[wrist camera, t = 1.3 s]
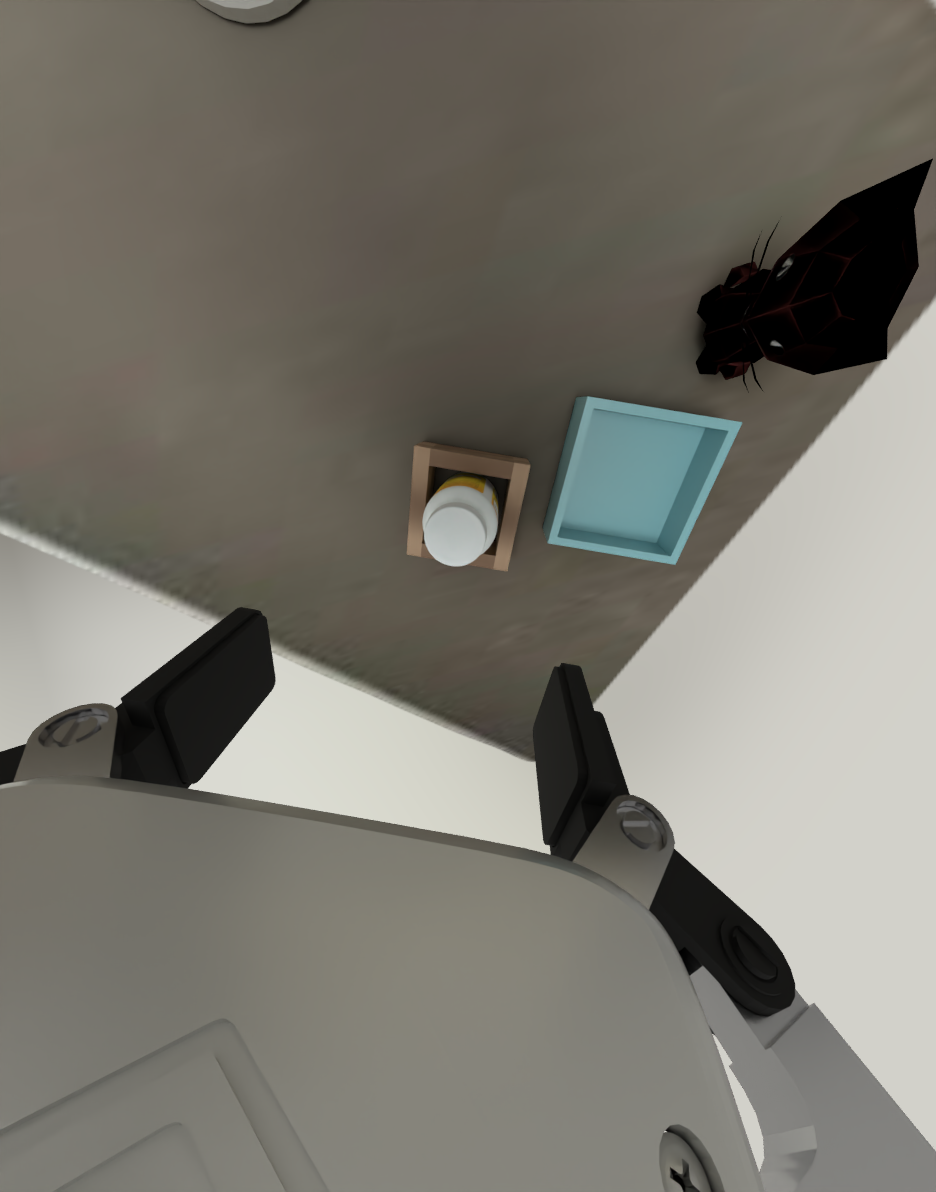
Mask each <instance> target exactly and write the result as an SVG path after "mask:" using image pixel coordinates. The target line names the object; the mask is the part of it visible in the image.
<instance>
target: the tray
mask: <svg viewBox="0 0 936 1192" xmlns="http://www.w3.org/2000/svg"><path fill="white" fill-rule="evenodd" d="M741 424H742V422H737V421H731V420H725V419H719V418H713V417H707V416H701V415H695V414H690V413H684V412H678V411H672V410H666V409H660V408H654V407H648V406H642V405H636V404H630V403H624V402H619V401H613V400H607V399H601V398H595V397H589V396H586V397H576V400H575V404H574V408H573V412H572V416H571V419H570V423H569V427H568V431H567V435H566V439H565V443H564V446H563V450H562V454H561V458H560V462H559V466H558V470H557V474H556V477H555V481H554V485H553V489H552V493H551V497H550V501H549V505H548V508H547V512H546V516H545V520H544V524H543V531H544V534H545V536H546V539H547V542H548V543H550V544H556V545H562V546H568V547H573V548H579V549H585V550H591V551H597V552H603V553H609V554H615V555H621V556H627V557H633V558H638V559H644V560H650V561H656V562H662V563H668V564H674V565H675V564H676V562H677V560H678V558H679V556H680V554H681V552H682V549H683V547H684V545H685V543H686V541H687V539H688V537H689V535H690V532H691V530H692V528H693V526H694V524H695V522H696V520H697V518H698V516H699V513H700V511H701V509H702V507H703V505H704V503H705V501H706V499H707V496H708V494H709V492H710V490H711V488H712V486H713V484H714V482H715V480H716V477H717V475H718V473H719V471H720V469H721V467H722V465H723V463H724V460H725V458H726V456H727V454H728V452H729V450H730V448H731V446H732V443H733V441H734V439H735V437H736V435H737V433H738V431H739V429H740V427H741Z"/></svg>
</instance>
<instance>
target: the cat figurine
mask: <svg viewBox="0 0 936 1192" xmlns="http://www.w3.org/2000/svg"><path fill="white" fill-rule="evenodd" d="M932 160H933V159H931V160H929V161H926V162H924V163H922V164H920V165H918V166H915V167H913V168H911V169H909V170H907V171H905V172H902V173H900V174H898V175H896V176H894V177H891V178H889V179H887V180H885V181H883V182H881V183H878V184H876V185H874V186H872V187H870V188H867V189H865V190H863V191H861V192H859V193H857V194H854V195H852V196H850V197H848V198H846V199H843V200H841V201H840V202H839V203H838V204H837V205H836V206H834V207H833V208H832V209H831V210H830V211H829V212H828V213H827V214H826V215H825V216H824V217H823V218H822V219H820V220H819V221H818V222H817V223H816V224H815V225H814V226H813V227H812V228H811V229H810V230H809V231H808V232H807V233H805V234H804V235H803V236H802V237H801V238H800V239H799V240H798V241H797V242H796V243H795V244H794V245H793V246H792V247H790V248H789V249H788V250H787V251H786V252H785V253H784V254H783V255H782V256H781V257H780V258H779V259H778V260H777V261H776V263H775V265H774V266H773V268H772V270H768V269H762V270H760V267H761V264H762V261H763V258H764V255H765V252H766V249H767V246H768V243H769V240H770V238H771V236H772V235H773V233H774V231H775V229H776V227H777V225H778V223H779V222H778V223H777V225H776V227H775V229H774V231H773V232H772V234H771V236H770V238H769V239H768V241H767V244H766V247H765V250H764V253H763V256H762V259H761V262H760V265H759V268H757V266H756V264H755V262H753V258H754V252H755V248H756V245H757V243H756V245H755V248H754V250H753V255H752V261H751V263H747V264H744V265H741V266H738V267H735V268H732V269H731V271H730V273H729V275H728V278H727V280H726V282H725V284H724V286H723V285H718V286H717V287H715V288H714V289H712V290H711V291H709V292H708V293H706V294H705V295H703V296H702V297H701V301H700V304H699V307H698V311H697V313H698V314H699V316H700V317H701V318H702V319H703V320H704V321H705V323H706V324H707V325H706V328H705V331H704V334H703V337H704V340H705V342H706V347H705V348H704V350H703V351H702V353H701V355H700V356H699V358H698V359H697V361H696V364H697V367H698V370H699V374H714V375H716V374H717V373H718V372H719V371H720V372H721V373H722V375H723V377H724V378H725V380H727V379H731V378H734V377H738V376H740V375H743V381H744V384H745V376H744V374H745V373H746V372H747V370H748V368H749V366H750V364H751V367H752V371H753V375H754V379H755V381H756V382H757V384H758V385H759V383H758V381H757V379H756V375H755V371H754V367H753V363H755V362H757V361H758V360H759V359H761V358H762V357H764V356H765V358H766V359H767V360H769V361H772V362H775V363H779V364H782V365H785V366H788V367H791V368H794V369H797V370H800V371H803V372H806V373H809V374H812V375H816V374H821V373H825V372H830V371H834V370H839V369H843V368H848V367H853V366H857V365H862V364H866V363H871V362H875V361H880V360H885V359H887V329H888V326H889V324H890V322H891V320H892V318H893V316H894V314H895V312H896V310H897V308H898V307H899V305H900V303H901V301H902V299H903V297H904V295H905V293H906V291H907V289H908V287H909V285H910V283H911V281H912V279H913V277H914V275H915V273H916V271H917V269H918V267H919V263H918V251H917V239H916V227H915V215H914V208H915V206H916V203H917V200H918V197H919V195H920V192H921V189H922V187H923V184H924V181H925V179H926V176H927V173H928V171H929V168H930V165H931V163H932ZM781 217H782V216H781ZM780 219H781V218H780ZM779 221H780V220H779ZM761 232H762V231H761ZM760 235H761V234H760ZM759 237H760V236H759ZM758 240H759V238H758ZM757 242H758V241H757ZM759 270H760V271H759ZM740 283H741V284H740ZM737 284H739V285H738V286H736V287H735V288H730V287H732V286H735V285H737ZM729 363H731V364H729ZM745 386H746V384H745ZM759 387H760V388H761V386H760V385H759ZM746 388H747V386H746ZM761 389H762V388H761ZM747 390H748V389H747ZM762 391H763V390H762ZM748 393H749V392H748Z"/></svg>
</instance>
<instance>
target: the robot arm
mask: <svg viewBox="0 0 936 1192" xmlns="http://www.w3.org/2000/svg"><path fill="white" fill-rule="evenodd" d="M196 1H197V2H198V3H199V4H201V5H202V6H203V7H205V8H207V9H209V10H211V11H212V12H214V13H216V14H218V15H220V16H222V17H223V18H226V19H230V20H234V21H238V22H243V23H258V22H268V21H270V20H273V19H275V18H277V17H280V16H282V15H284V14H287V13H288V12H289V11H290V10H292V9H293V8H294V7H295V6H296V5H297V4H299V3H300V2H301V1H302V0H196ZM274 685H275V672H274V666H273V659H272V651H271V645H270V638H269V631H268V624H267V619H266V617H265V616H263V615H262V613H261V611H259V610H254V609H248V608H243V607H240V608H237V609H236V610H234V611H233V612H232V613H231V614H229V615H228V616H227V617H225V618H224V619H223V620H222V621H220V622H219V623H218V624H216V625H215V626H214V627H212V628H211V629H210V630H209V631H207V632H206V633H205V634H203V635H202V636H201V637H199V638H198V639H197V640H196V641H194V642H193V643H192V644H190V645H189V646H188V647H187V648H185V649H184V650H183V651H181V652H180V653H179V654H177V655H176V656H175V657H174V658H172V659H171V660H170V661H168V662H167V663H166V664H165V665H163V666H162V667H161V668H160V669H158V670H157V671H156V672H154V673H153V674H152V675H150V676H149V677H148V678H146V679H145V680H144V681H142V682H141V683H140V684H139V685H137V686H136V687H135V688H133V689H132V690H131V691H130V692H128V693H127V694H126V695H125V696H123V697H122V698H121V700H122V703H121V704H120V705H119V706H118V707H116V708H114V707H112V706H111V705H107V704H102V703H101V704H87V705H81V706H77V707H74V708H71V709H68V710H65V711H63V712H61V713H59V714H57V715H55V716H53V717H51V718H49V719H48V720H46V721H45V722H43V723H42V724H41V725H40V726H39V727H37V728H36V729H35V730H34V731H33V732H32V734H31V736H30V737H29V739H28V741H27V744H24V745H21V746H18V747H15V748H12V749H8V750H5V751H2V752H0V1192H936V1151H935V1150H934V1149H933V1148H932V1146H931V1145H930V1144H929V1143H928V1141H927V1140H926V1139H925V1138H924V1137H923V1135H922V1134H921V1133H920V1132H919V1130H918V1129H917V1128H916V1127H915V1126H914V1125H913V1123H912V1122H911V1121H910V1120H909V1118H908V1117H907V1116H906V1115H905V1113H904V1112H903V1111H902V1110H901V1109H900V1107H899V1106H898V1105H897V1104H896V1103H895V1101H894V1100H893V1099H892V1098H891V1096H890V1095H889V1094H888V1093H887V1092H886V1090H885V1089H884V1088H883V1087H882V1085H881V1084H880V1083H879V1082H878V1080H877V1079H876V1078H875V1077H874V1076H873V1075H872V1073H871V1072H870V1071H869V1069H868V1068H867V1067H866V1066H865V1065H864V1063H863V1062H862V1061H861V1060H860V1058H859V1057H858V1056H857V1055H856V1054H855V1052H854V1051H853V1050H852V1049H851V1047H850V1046H849V1045H848V1044H847V1043H846V1041H845V1040H844V1039H843V1038H842V1036H841V1035H840V1034H839V1033H838V1032H837V1030H836V1029H835V1028H834V1027H833V1025H832V1024H831V1023H830V1022H829V1021H828V1019H826V1017H825V1016H824V1014H823V1013H822V1012H821V1011H820V1010H819V1008H818V1007H817V1006H816V1005H815V1004H814V1003H813V1004H811V1005H809V1006H808V1004H807V1003H806V1002H805V1001H804V999H803V998H802V997H801V996H800V995H799V993H798V992H797V991H796V989H795V982H794V979H793V975H792V972H791V969H790V967H789V965H788V963H787V961H786V959H785V957H784V955H783V953H782V952H781V950H780V949H779V948H778V946H777V945H776V943H775V942H774V941H773V939H772V938H771V937H770V936H769V935H768V934H767V933H766V932H765V931H764V929H763V928H762V927H761V926H760V925H759V924H757V923H756V922H755V921H754V920H753V919H752V918H751V917H750V916H749V915H747V914H746V913H745V912H744V911H743V910H742V909H741V908H740V907H739V906H737V905H736V904H735V903H734V902H733V901H732V900H731V899H730V898H729V897H727V896H726V895H725V894H724V893H723V892H722V891H721V890H719V889H718V888H717V887H716V886H715V885H714V884H713V883H712V882H711V881H710V880H708V879H707V878H706V877H705V876H704V875H703V874H702V873H701V872H699V871H698V870H697V869H696V868H695V867H694V866H693V865H692V864H690V863H689V862H688V861H687V860H686V859H685V858H684V857H683V856H682V855H681V854H680V853H678V852H677V851H676V850H675V849H674V844H675V841H674V836H673V832H672V830H671V828H670V826H669V823H668V822H667V821H666V819H665V818H664V816H663V815H662V814H661V812H660V811H658V810H657V809H656V808H655V807H654V806H653V805H652V804H650V803H649V802H647V801H646V800H644V799H642V798H640V797H636V796H634V795H630V794H629V791H628V788H627V785H626V782H625V779H624V776H623V773H622V770H621V767H620V764H619V761H618V758H617V755H616V752H615V749H614V746H613V743H612V740H611V737H610V734H609V731H608V728H607V725H606V722H605V718H604V716H603V714H602V713H600V712H598V711H594V708H593V705H592V702H591V699H590V695H589V692H588V689H587V686H586V682H585V679H584V676H583V672H582V669H581V667H580V666H577V665H571V664H565V663H561V665H560V667H556V666H555V667H554V669H553V671H552V674H551V677H550V680H549V683H548V686H547V688H546V691H545V694H544V697H543V700H542V703H541V706H540V709H539V711H538V714H537V717H536V720H535V723H534V727H533V740H534V751H535V761H536V771H537V781H538V791H539V802H540V812H541V821H542V832H543V841H544V843H545V845H550V851H551V855H549V854H545V853H541V852H537V851H533V850H529V849H525V848H520V847H515V846H510V845H505V844H500V843H495V842H490V841H485V840H480V839H475V838H469V837H464V836H458V835H453V834H447V833H442V832H436V831H430V830H425V829H419V828H414V827H408V826H402V825H397V824H391V823H385V822H380V821H374V820H368V819H363V818H357V817H351V816H345V815H339V814H334V813H328V812H322V811H316V810H310V809H305V808H299V807H293V806H287V805H282V804H275V803H270V802H264V801H258V800H252V799H246V798H240V797H234V796H228V795H222V794H216V793H210V792H204V791H198V790H192V789H188V787H189V786H190V785H191V784H194V783H197V782H198V781H199V780H200V779H201V778H202V777H203V775H204V774H205V773H206V772H207V770H208V769H209V768H210V767H211V765H212V764H213V763H214V762H215V761H216V759H217V758H218V757H219V756H220V754H221V753H222V752H223V751H224V749H225V748H226V747H227V746H228V744H229V743H230V742H231V741H232V739H233V738H234V737H235V736H236V734H237V733H238V732H239V731H240V729H241V728H242V727H243V725H244V724H245V723H246V722H247V721H248V719H249V718H250V717H251V716H252V714H253V713H254V712H255V711H256V709H257V708H258V707H259V706H260V704H261V703H262V702H263V701H264V699H265V698H266V697H267V696H268V694H269V693H270V692H271V691H272V689H273V687H274ZM712 1034H714V1035H715V1036H716V1037H717V1039H718V1040H719V1042H720V1043H721V1045H722V1047H723V1048H724V1050H725V1051H726V1053H727V1054H728V1056H729V1057H730V1059H731V1061H732V1062H733V1063H732V1064H731V1065H730V1066H729V1067H730V1068H731V1070H732V1072H733V1073H734V1075H735V1076H736V1078H737V1080H738V1081H739V1083H740V1084H741V1086H742V1088H743V1089H744V1091H745V1093H746V1095H747V1097H748V1098H749V1101H750V1103H751V1105H752V1106H753V1108H754V1110H755V1112H756V1115H757V1118H758V1122H759V1125H760V1128H761V1131H762V1135H763V1141H764V1161H763V1164H762V1166H761V1169H760V1172H759V1171H758V1168H757V1165H756V1162H755V1159H754V1156H753V1153H752V1150H751V1147H750V1144H749V1141H748V1138H747V1135H746V1132H745V1129H744V1126H743V1123H742V1120H741V1117H740V1114H739V1111H738V1108H737V1105H736V1102H735V1099H734V1095H733V1092H732V1090H731V1087H730V1083H729V1081H728V1077H727V1074H726V1072H725V1069H724V1066H723V1063H722V1060H721V1057H720V1054H719V1052H718V1049H717V1046H716V1044H715V1041H714V1038H713V1035H712ZM664 1131H667V1132H665V1133H663V1132H664Z"/></svg>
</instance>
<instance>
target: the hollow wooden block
mask: <svg viewBox="0 0 936 1192" xmlns="http://www.w3.org/2000/svg"><path fill="white" fill-rule="evenodd" d="M530 466H531V465H530V463H529V461H528V459H525V458H519V457H513V456H507V455H501V454H495V453H489V452H484V451H478V450H472V449H466V448H460V447H454V446H448V445H442V444H436V443H430V442H424V441H423V442H421V443H419V444H417V445H415V446H414V456H413V470H412V485H411V500H410V514H409V529H408V544H407V555H413V556H419V557H425V558H431V559H435V558H434V557H433V556H432V555H431V554H430V552H429V551H428V549H427V547H426V545H425V540H424V531H423V523H422V521H423V514H424V510H425V508H426V506H427V504H428V502H429V501H430V499H431V498H432V497H433V489H434V478H435V468H436V467H440V468H446V469H452V470H458V471H464V472H470V473H476V474H481V475H487V476H493V477H499V478H505V479H508V484H507V489H506V494H505V499H504V504H503V509H502V515H501V520H500V525H499V530H498V535H497V540H496V542H495V541H493V543H492V544H491V546H490V547H489V548H488V549H487V550H486V551H485V552H484V553H483V554H481V555H480V556H479V557H478V558H477V559H476V560H474V561H473V562H471V563H469V564H467V565H472V566H478V567H484V568H490V569H496V570H502V571H507V570H508V565H509V561H510V556H511V552H512V547H513V543H514V538H515V534H516V529H517V525H518V520H519V516H520V511H521V507H522V502H523V498H524V493H525V488H526V484H527V479H528V475H529V470H530Z"/></svg>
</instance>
